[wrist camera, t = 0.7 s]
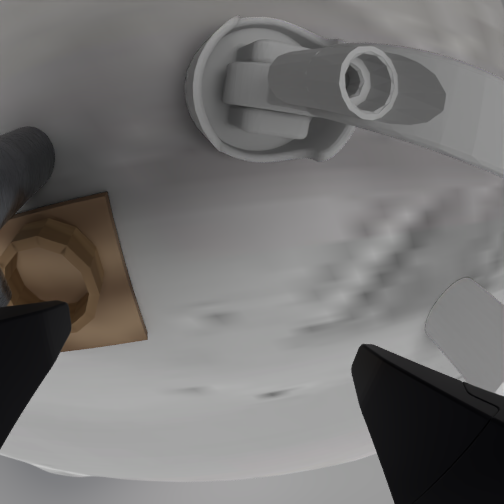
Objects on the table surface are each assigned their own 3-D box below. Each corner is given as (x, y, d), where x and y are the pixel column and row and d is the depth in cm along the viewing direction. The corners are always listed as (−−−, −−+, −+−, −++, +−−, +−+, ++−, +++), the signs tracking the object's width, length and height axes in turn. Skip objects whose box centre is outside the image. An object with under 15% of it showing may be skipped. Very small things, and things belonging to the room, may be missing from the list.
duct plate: (-17, 224, 19) (-38, 246, 16) (107, 191, 22) (98, 211, 18) (41, 347, 26) (33, 376, 23) (147, 332, 29) (148, 363, 25)
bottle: (425, 349, 46) (510, 456, 25) (421, 307, 39) (534, 437, 18) (473, 308, 45) (562, 400, 24) (476, 261, 39) (590, 365, 18)
